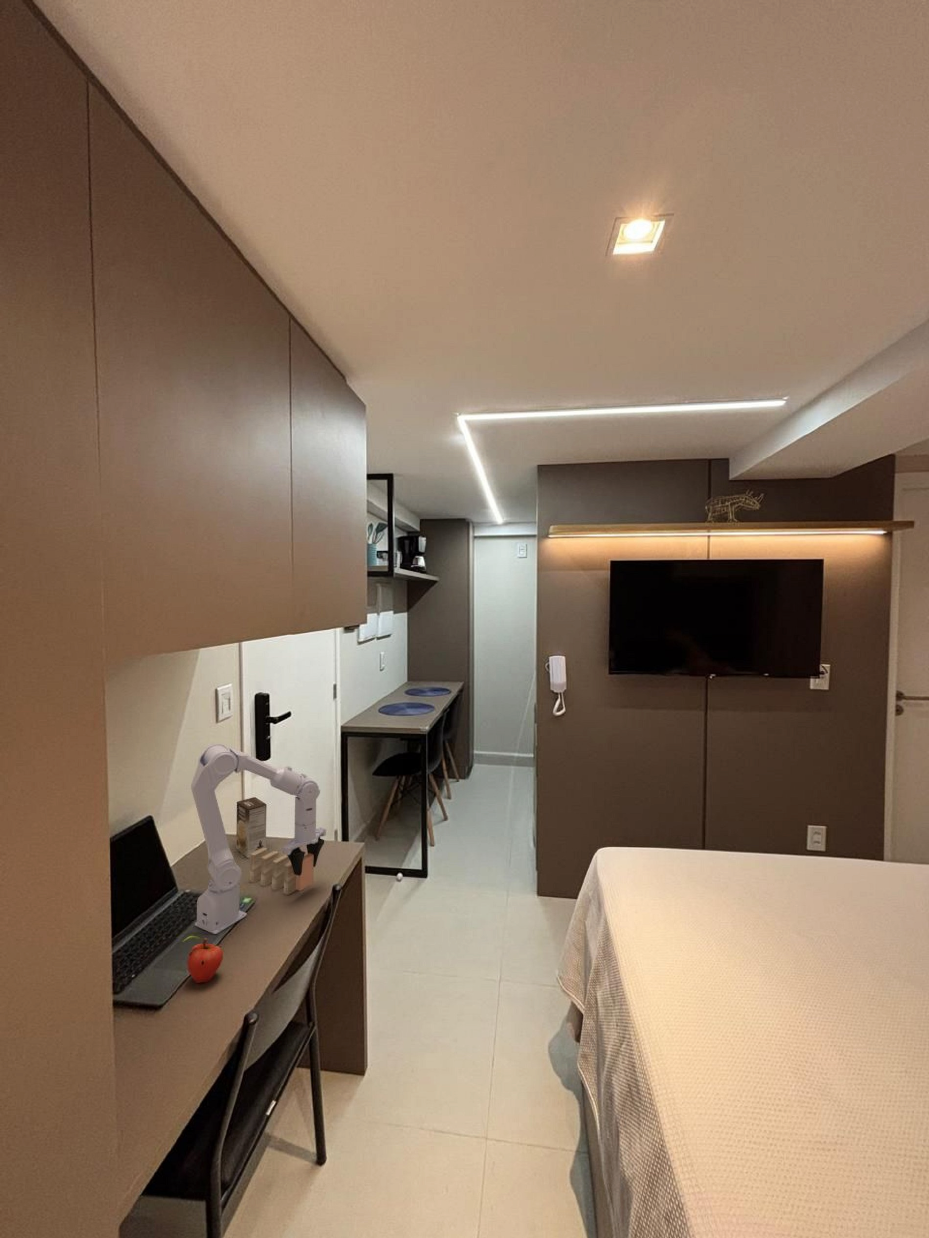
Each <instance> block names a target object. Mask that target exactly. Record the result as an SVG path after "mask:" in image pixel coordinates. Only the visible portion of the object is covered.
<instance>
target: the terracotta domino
mask: <svg viewBox="0 0 929 1238" xmlns="http://www.w3.org/2000/svg"><path fill="white" fill-rule="evenodd" d="M313 865H314V854H311V853H309V854H308V853H307V854H305V855H304V858H303V863H302V873H301V875H300V876H298V875H296V889H297V890H298V891H299V892H300V891H302V890H304V889H305V888H307V887H309V886H311V885H312V884H314V872H315V871H314V868H315V867H313Z"/></svg>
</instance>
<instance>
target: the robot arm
mask: <svg viewBox="0 0 929 1238" xmlns="http://www.w3.org/2000/svg"><path fill="white" fill-rule="evenodd" d="M243 771H248V772H250V773H252V774H254V775H257V776H260V777H262V778H264V779H267V780H269V783H270V785H271V787H272V788H274V789H276V790H279V791H282V792H284V793H287V794H289V795H291V796H294V837H293V838H292V839H291V840H289V842H287V843H286V844H285V845H284V846H282V854H283V855H285V854H286V855H287V856H288V858H289V860H290V862H291V864H292V868H293V872H294V874H295V875H298V876H300V875H301V873H302V863H303V858H304V856H305V855H306V851H307V854H309V853H311V854H314V865H313V867H314V868H315V867H316V866H317V862H318V858H319V854H320V851H322V850H321V849H322V847H323V846H324V844H325V840H324V839H323V838H321V837H326V835H327V828H324V827H318V828H317V799H318V798H319V796H320V794H321V789H320V787H319V785H318V783H317V782H316V781H315V780H313V779H312V778H310V777H308V776H307V775H306V774H305V773H298V772H297V771H294V770H293V768H292V767H291V766H289V765H286V766H283V765H280V766H278V767H273V766H271V765H270V764H267V763H265V762H263V761H262V760H259V759H258V758H256V757H253V756H252V755H250V754H249V753H245V752H243V751H240V750H237V749H235V748H232V747H228V748H227V747H226V745H224V744H220V743H214V744H212V745H210V746H208V747H207V748H206V749H205V750H204V751H203V753H202V754H201V755H200V756H199V758H198V763H197V767H196V770H195V773H194V776H193V779H192V782H191V785H190V787H191V793H192V797H193V799H194V804H195V808H196V811H197V815H198V819H199V822H200V826H201V830H202V834H203V837H204V841H205V845H206V848H207V857H208V862H207V867H206V868H207V872H208V874H209V875H210V877H211V878H210V880H209V883H208V887H207V889H206V890H205V891H204V893H202V894H201V895H200V896H198V898H197V902H196V922H194V926H195V927H197V928H200V929H202V930H204V931H207V932H209V933H211V934H213V935H217V934H219V933H220V932H222V931H224V930H225V929H227V928H229V927H230V926H232V925H234V924H235V923H237V922H238V921H240V920H242V919H243V918H245V917H247V915H248V914H247V912H244V911H241V910H240V881H241V880H242V877H243V873H242V872H243V871H242V869H241V868H240V866H238V864H237V863H236V861H235V858H234V856H233V853H232V851H231V849H230V846H229V842H228V838H227V834H226V830H225V826H224V822H223V818H222V815H221V811H220V807H219V803H218V799H217V795H216V792H215V790H216V789H217V788H218V786H219V785H220V784H221V782H223V781H224V780H226V779H227V778H228V777H229V776H230V775H232V774H233V773H236V774H239V773H241V772H243ZM303 846H306V851H303V850H302V849H301V848H302V847H303Z"/></svg>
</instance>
